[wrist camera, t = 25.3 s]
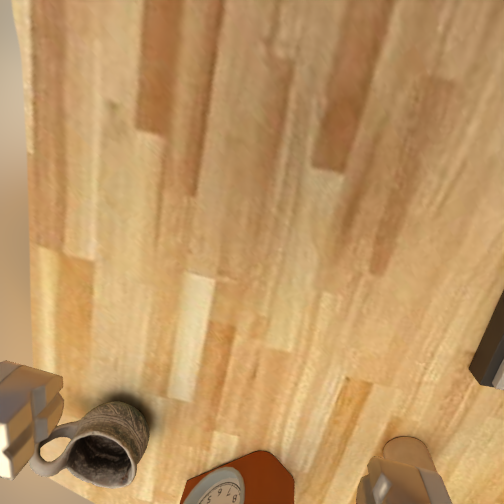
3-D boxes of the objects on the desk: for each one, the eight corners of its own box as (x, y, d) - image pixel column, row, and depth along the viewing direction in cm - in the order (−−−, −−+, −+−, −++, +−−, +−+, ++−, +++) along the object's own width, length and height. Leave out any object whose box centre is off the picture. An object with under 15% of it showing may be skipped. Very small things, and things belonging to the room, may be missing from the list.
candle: (379, 437, 42) (402, 525, 33) (425, 434, 41) (463, 523, 32) (385, 469, 44) (409, 560, 34) (430, 466, 43) (466, 560, 33)
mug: (155, 449, 48) (121, 525, 39) (74, 428, 49) (22, 498, 40) (160, 399, 45) (124, 470, 35) (73, 377, 46) (15, 441, 36)
